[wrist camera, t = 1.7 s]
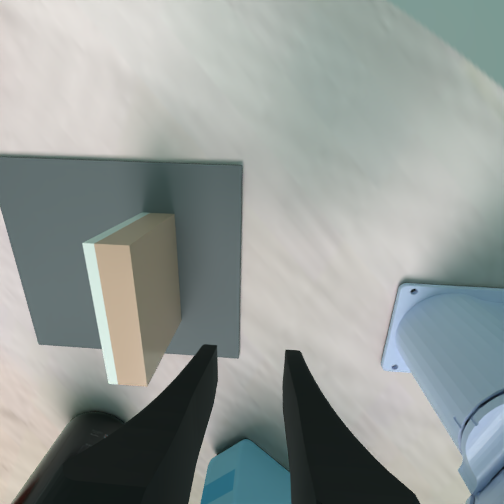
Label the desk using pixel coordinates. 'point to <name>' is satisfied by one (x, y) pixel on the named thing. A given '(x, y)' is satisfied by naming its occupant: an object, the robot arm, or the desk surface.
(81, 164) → the mat
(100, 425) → the supplement bottle
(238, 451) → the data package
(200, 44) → the desk surface
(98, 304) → the tile
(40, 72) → the desk surface
